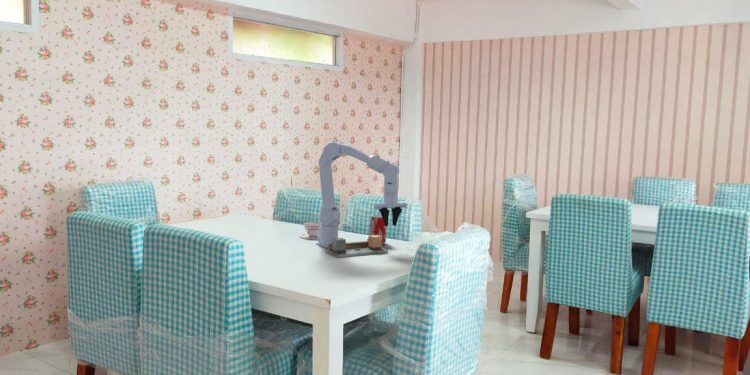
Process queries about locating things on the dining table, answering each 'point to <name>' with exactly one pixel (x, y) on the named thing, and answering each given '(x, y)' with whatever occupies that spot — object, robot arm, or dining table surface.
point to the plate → (357, 251)
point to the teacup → (311, 230)
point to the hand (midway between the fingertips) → (390, 225)
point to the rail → (353, 244)
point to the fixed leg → (339, 245)
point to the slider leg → (374, 242)
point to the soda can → (378, 227)
